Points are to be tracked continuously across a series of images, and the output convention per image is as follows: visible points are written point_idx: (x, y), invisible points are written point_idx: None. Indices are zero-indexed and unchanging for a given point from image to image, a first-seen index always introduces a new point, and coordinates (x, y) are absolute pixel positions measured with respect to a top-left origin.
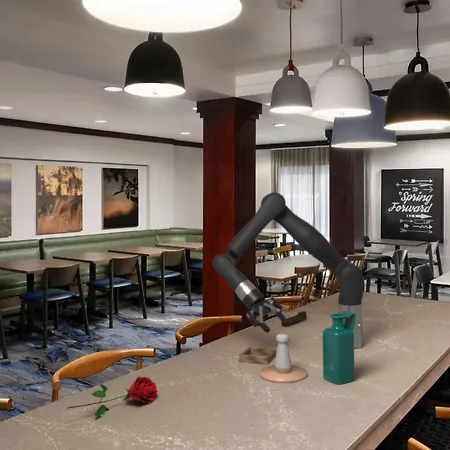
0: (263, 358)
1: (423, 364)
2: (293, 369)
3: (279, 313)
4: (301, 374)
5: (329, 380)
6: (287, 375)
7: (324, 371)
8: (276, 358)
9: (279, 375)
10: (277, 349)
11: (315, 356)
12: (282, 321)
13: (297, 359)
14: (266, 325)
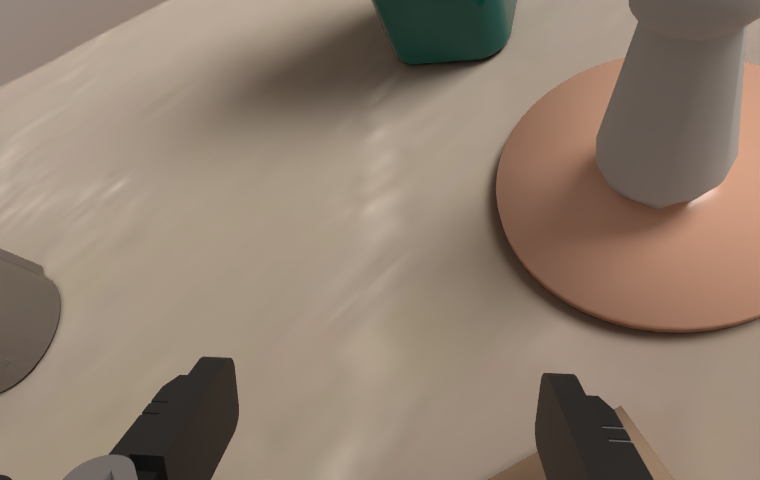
0: (644, 442)
1: (134, 28)
2: (564, 175)
3: (170, 439)
4: (586, 92)
5: (515, 4)
6: None
7: (506, 3)
8: (740, 117)
9: None
10: (738, 74)
11: (251, 320)
12: (231, 422)
13: (362, 351)
14: (576, 425)
